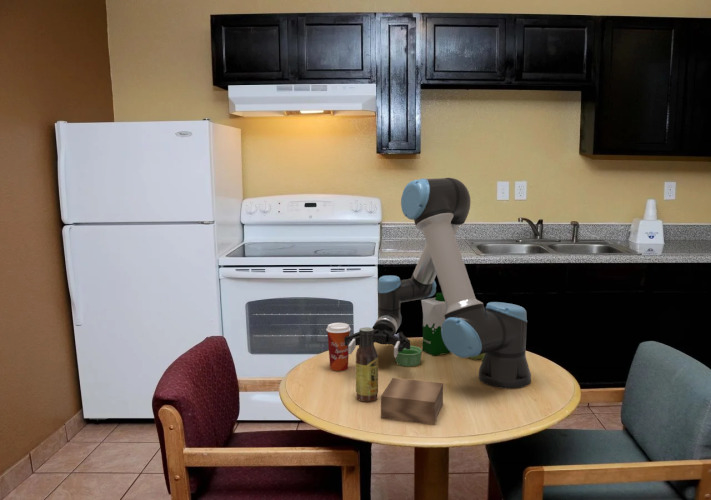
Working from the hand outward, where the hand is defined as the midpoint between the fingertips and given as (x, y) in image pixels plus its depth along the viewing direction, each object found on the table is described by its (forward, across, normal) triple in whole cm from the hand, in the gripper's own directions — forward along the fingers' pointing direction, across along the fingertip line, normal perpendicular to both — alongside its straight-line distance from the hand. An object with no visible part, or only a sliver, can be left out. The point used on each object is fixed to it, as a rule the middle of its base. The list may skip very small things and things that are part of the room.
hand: (372, 351), depth 175 cm
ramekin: (-21, -8, -11) cm, 25 cm away
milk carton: (-34, -16, -11) cm, 39 cm away
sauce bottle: (+9, 0, -11) cm, 14 cm away
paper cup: (-12, +13, -11) cm, 21 cm away
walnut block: (+15, -14, -10) cm, 23 cm away
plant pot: (-31, -30, -11) cm, 44 cm away
